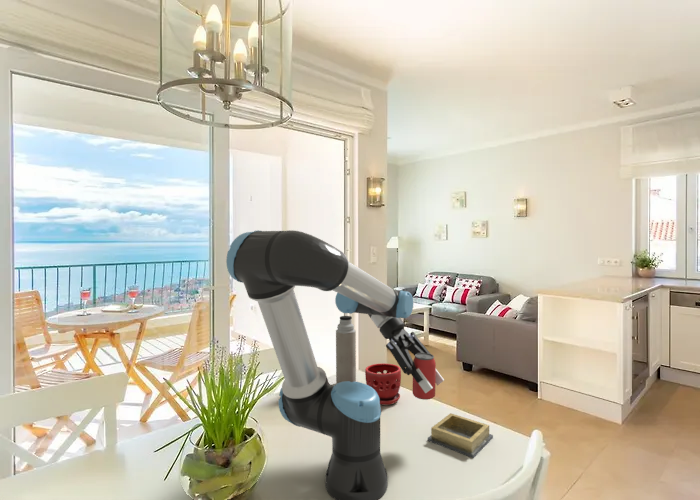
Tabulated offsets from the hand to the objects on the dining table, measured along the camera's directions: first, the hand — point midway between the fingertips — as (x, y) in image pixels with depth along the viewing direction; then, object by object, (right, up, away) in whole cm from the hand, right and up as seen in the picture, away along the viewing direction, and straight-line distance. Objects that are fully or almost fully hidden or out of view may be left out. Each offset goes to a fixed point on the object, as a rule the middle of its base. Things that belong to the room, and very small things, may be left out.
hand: (435, 386), depth 112 cm
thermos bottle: (-26, -16, +46) cm, 55 cm away
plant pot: (-12, -16, +31) cm, 37 cm away
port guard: (+8, -17, +3) cm, 19 cm away
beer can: (-3, -4, +2) cm, 5 cm away
